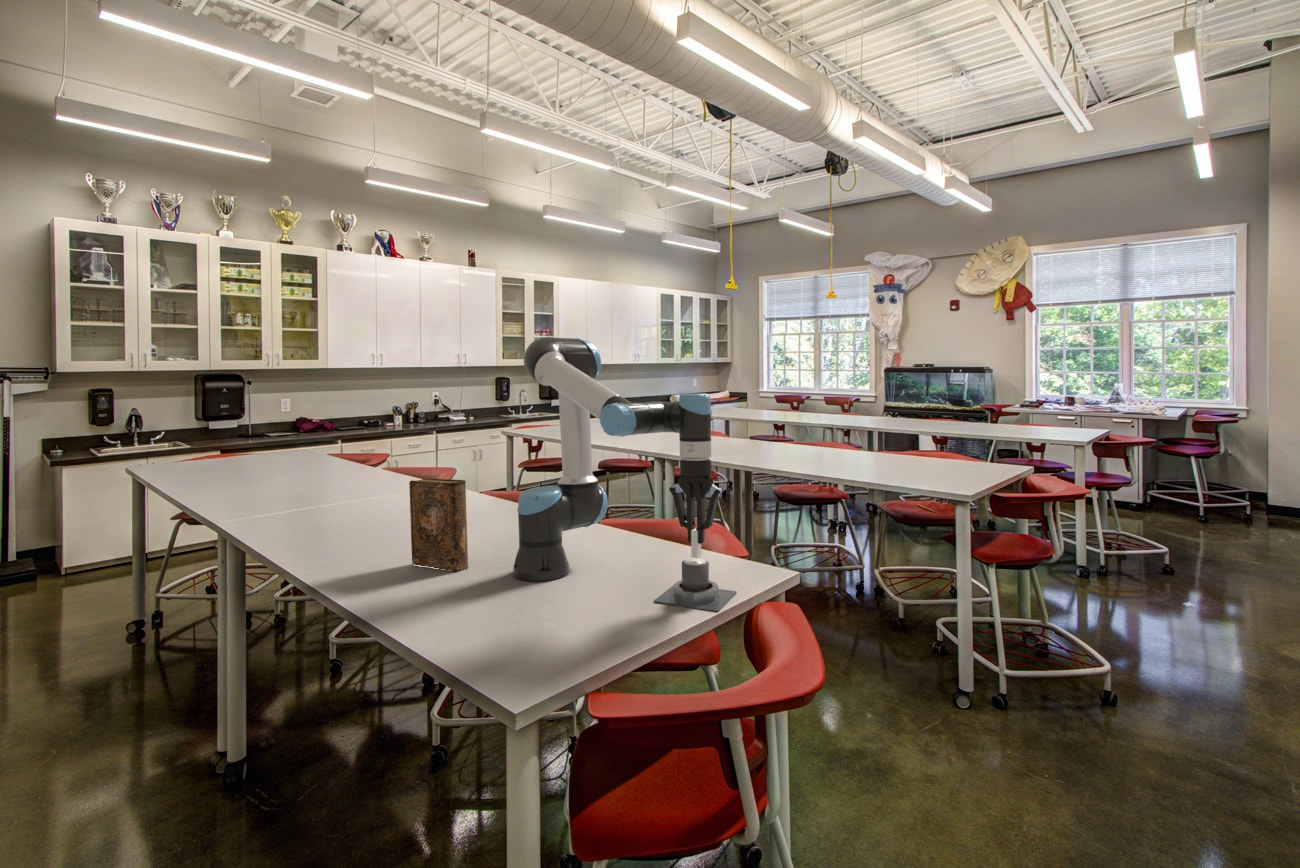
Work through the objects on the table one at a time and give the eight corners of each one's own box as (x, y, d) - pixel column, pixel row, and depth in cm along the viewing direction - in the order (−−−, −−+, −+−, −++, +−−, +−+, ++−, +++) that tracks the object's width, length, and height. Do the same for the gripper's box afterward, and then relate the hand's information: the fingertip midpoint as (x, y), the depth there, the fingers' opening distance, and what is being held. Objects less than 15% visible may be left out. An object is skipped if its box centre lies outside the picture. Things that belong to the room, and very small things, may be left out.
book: (471, 567, 179) (468, 480, 177) (458, 572, 174) (455, 483, 172) (425, 561, 185) (422, 477, 183) (412, 566, 180) (408, 480, 178)
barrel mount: (653, 602, 149) (653, 589, 148) (676, 585, 161) (676, 573, 161) (718, 611, 142) (718, 599, 142) (736, 593, 155) (736, 581, 154)
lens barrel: (677, 597, 150) (677, 563, 149) (687, 589, 156) (687, 556, 155) (703, 601, 147) (703, 566, 147) (712, 592, 153) (712, 559, 153)
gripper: (664, 459, 148) (665, 557, 150) (716, 461, 143) (717, 563, 145) (676, 456, 155) (677, 550, 157) (726, 457, 150) (727, 555, 151)
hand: (696, 556), depth 151 cm, fingers closed
